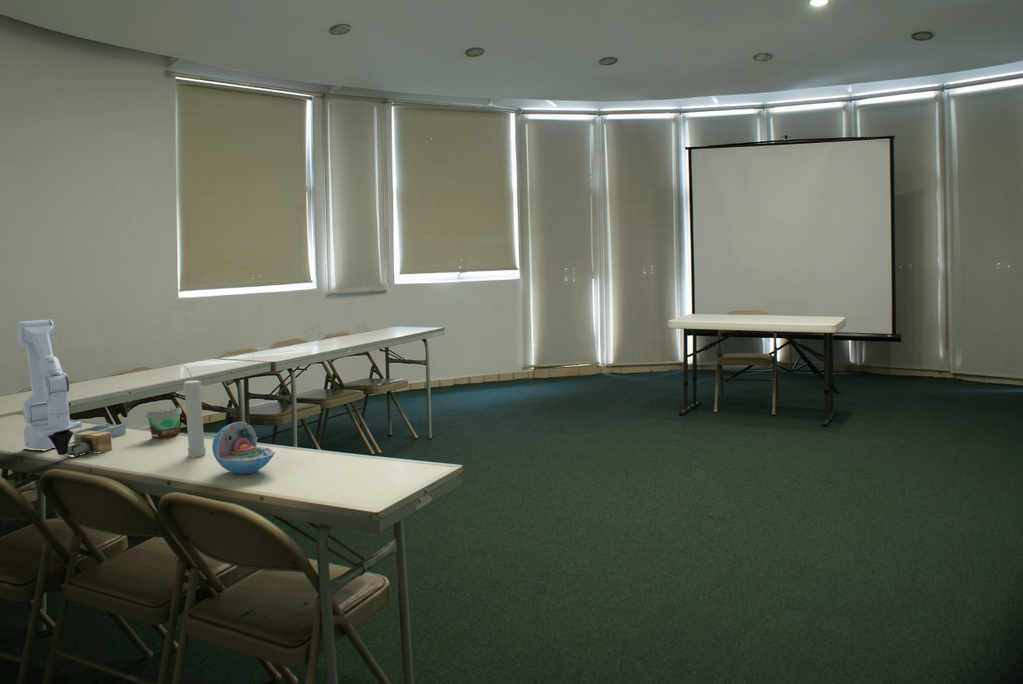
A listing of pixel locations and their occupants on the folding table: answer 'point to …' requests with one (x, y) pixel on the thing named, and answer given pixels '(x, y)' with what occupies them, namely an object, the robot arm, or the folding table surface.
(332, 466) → the folding table surface
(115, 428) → the cradle
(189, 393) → the pipe
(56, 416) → the robot arm
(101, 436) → the beam
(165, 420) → the food container
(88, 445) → the axle
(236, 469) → the educational model
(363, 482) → the folding table surface
